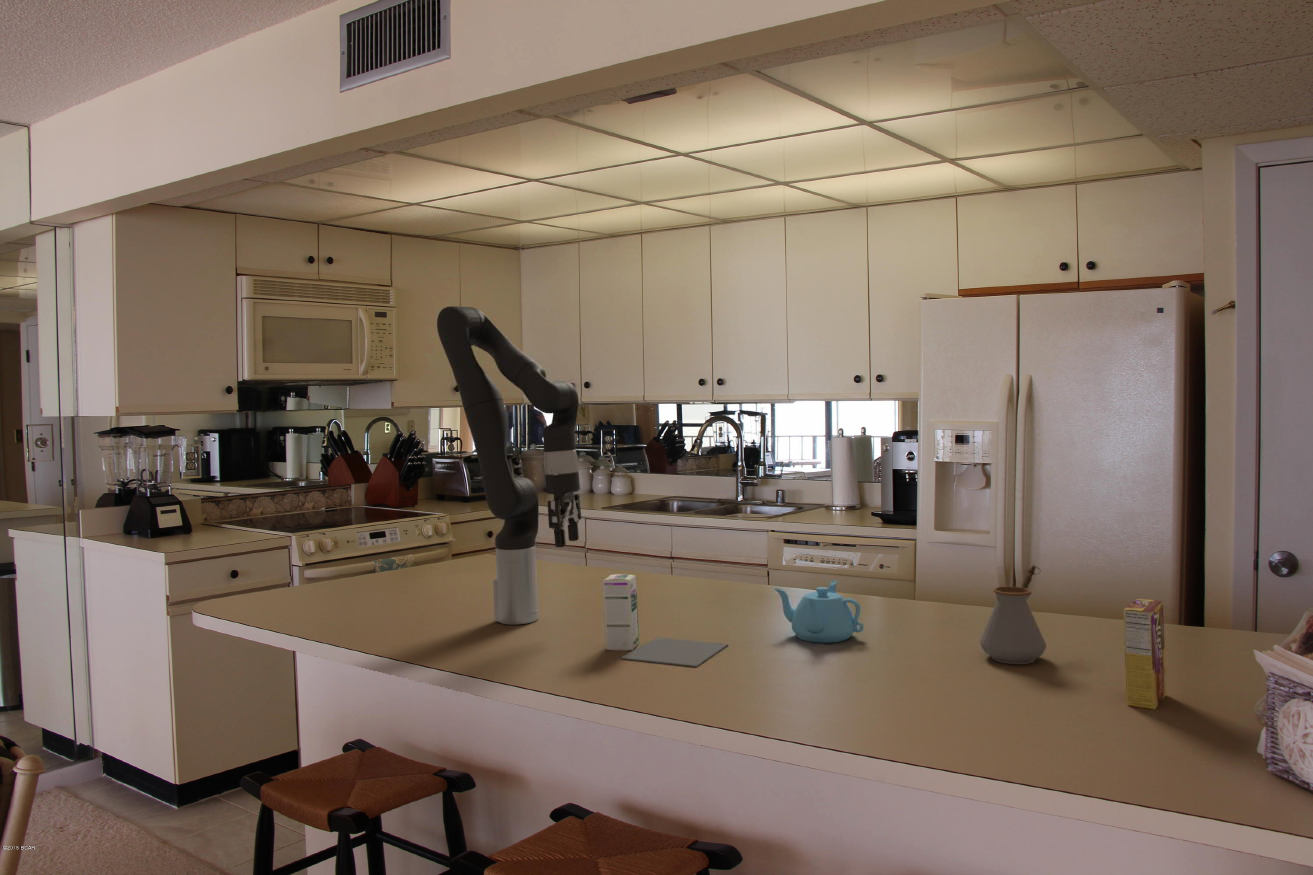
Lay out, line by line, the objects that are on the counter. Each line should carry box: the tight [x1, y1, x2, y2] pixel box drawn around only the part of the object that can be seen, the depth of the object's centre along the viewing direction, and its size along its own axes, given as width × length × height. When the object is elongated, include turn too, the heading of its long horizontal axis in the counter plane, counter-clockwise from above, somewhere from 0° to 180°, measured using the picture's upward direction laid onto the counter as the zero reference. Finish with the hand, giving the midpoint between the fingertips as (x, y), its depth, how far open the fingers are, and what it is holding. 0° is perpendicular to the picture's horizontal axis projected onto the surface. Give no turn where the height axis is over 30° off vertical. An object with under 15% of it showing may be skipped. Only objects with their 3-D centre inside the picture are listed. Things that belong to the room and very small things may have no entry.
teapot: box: [773, 579, 865, 644], centre depth 186 cm, size 15×15×10 cm
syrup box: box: [602, 573, 640, 652], centre depth 184 cm, size 6×6×14 cm
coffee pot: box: [979, 564, 1047, 665], centre depth 171 cm, size 21×12×15 cm, turn 142°
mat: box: [620, 636, 729, 668], centre depth 179 cm, size 16×16×1 cm
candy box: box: [1122, 598, 1168, 710], centre depth 142 cm, size 9×4×15 cm, turn 140°
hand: (567, 543), depth 200 cm, fingers open, 8 cm apart
